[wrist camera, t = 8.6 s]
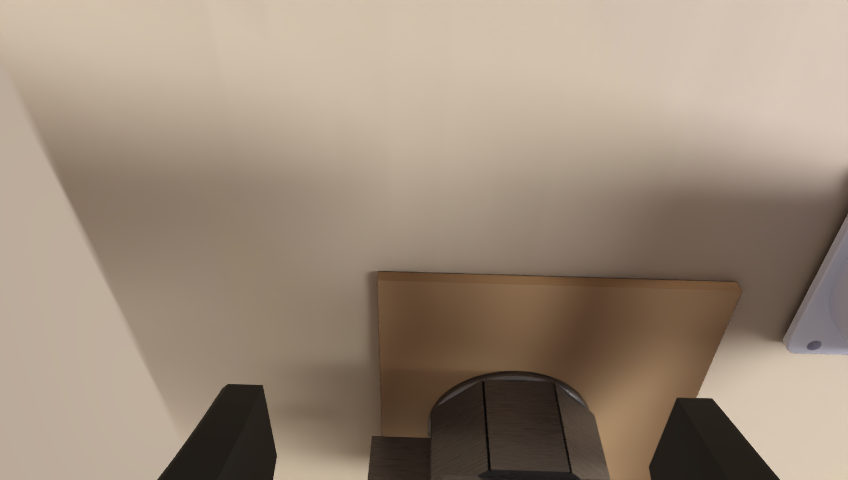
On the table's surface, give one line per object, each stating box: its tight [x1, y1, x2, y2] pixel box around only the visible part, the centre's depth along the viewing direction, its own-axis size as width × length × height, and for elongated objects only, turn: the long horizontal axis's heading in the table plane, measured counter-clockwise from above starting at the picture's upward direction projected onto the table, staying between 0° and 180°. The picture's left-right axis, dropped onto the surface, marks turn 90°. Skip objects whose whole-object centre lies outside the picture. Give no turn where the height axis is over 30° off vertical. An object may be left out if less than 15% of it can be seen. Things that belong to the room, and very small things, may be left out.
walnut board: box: [377, 272, 742, 480], centre depth 27 cm, size 13×18×1 cm
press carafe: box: [368, 371, 610, 480], centre depth 25 cm, size 9×7×5 cm
